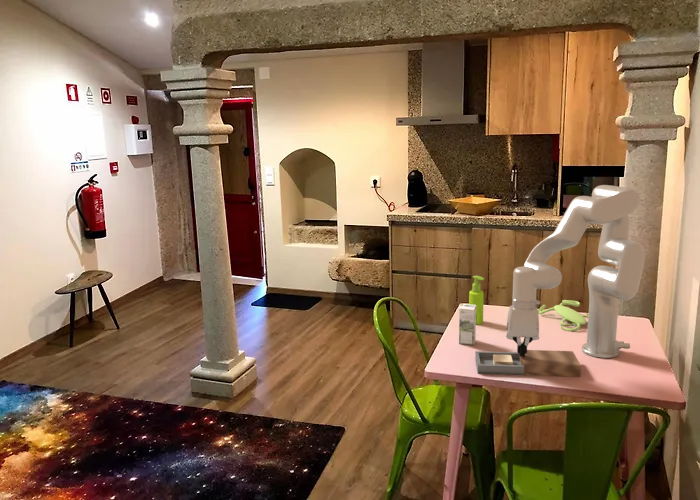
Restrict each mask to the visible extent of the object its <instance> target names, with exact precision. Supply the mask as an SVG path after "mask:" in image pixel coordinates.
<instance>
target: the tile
mask: <svg viewBox="0 0 700 500" xmlns="http://www.w3.org/2000/svg"><path fill="white" fill-rule="evenodd" d="M493 363H494V365H513V360H512V357H511V355H494V354H493Z"/></svg>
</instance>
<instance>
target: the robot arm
mask: <svg viewBox="0 0 700 500" xmlns="http://www.w3.org/2000/svg"><path fill="white" fill-rule="evenodd" d="M640 205H641V196H640V193H638V191H636V189H633V188H630V187H624V186H616V185H610V184H609V185H608V184H601V185H597V186H596V187H595V188H593V190H592V193H591V196H588V195H581V196H580V195H579V196H575V198H573V199H572V200H571V202H570V203H569V205H568V206H567V208H566V210H565V212H564V214H563V215H562V218H561V219H560V220H559V223H558V224H557V226H556V228H555V230H554V231H553V233H551V234H550V235H549V236H547V237H545V238H544V239H543V240H541V241H540V242H539V243H538V244H537V245H535V246H534V247H533V249H531V251H530V252H529V254H528V257H527V258H526V259H525V262H524V265H522V266H518V267H515V268H514V269H513V273H512V275H513V277H512V278H513V279H512V300H511V301H512V302H511V304H512V305H509V308H508V312H507V322H506V336H505V337H506V339H507V340H511V341H514V342H515V343H516V345H517V348H516V351H517V353H519V355H520V357H522V356H523V357H525V353H526V354H527V350H528V346H529V344H530V343H532V341H536V340H537V341H538V340H540V336H539V334H540V319H539V318H540V317H539V314H538V310H539V308H538V305H541V300H537V290H538V289H539V290H551V289H554V288H557V287H558V286H560V284H561V283H562V281H563V275H562V273H561V271H560V270H559V269H557V268H556V267H554V266H552V265H549V264H547V263H546V262H547V261H548V259H550V258H551V257H552V256H553V255H555V254H556V253H558V252H560V251H563V250H568V249H571V248H575V246H577V245H578V244H579V242H580V240H581V239H582V237H583V234H584V233H585V232H586V230H587V229H588V226H589V225H590V224H593V225H599V226H600V225H602V227H601V234H600V237H599V243H598V247H597V249H598V250H597V255H598V258H599V259H600V260H601V261H603V262H605V263H608V264H610V265H615V266H618V268H614V267H612V266H608V265H597V266H595V267H593V268H592V269H591V270H590V271H589V273H588V276H587V286H588V292H589V293H588V294H589V301H588V302H589V303H588V304H589V306H588V316H589V317H588V318H587V334H586V335H587V336H586V342H585V343H583V344H582V345H581V350H582V352H583V353H585V354H586V355H588V356H591V357H595V358H600V359H601V358H603V359H611V358H616V357H618V356H620V353H621V349H624V350H625V349H627V350H629V349H630V348H631V344H630V343H627V342H626V343H625V341H623V340H622V341H621V340H620V341H618V340H617V331H618V330H617V329H618V318H619V301H618V300H620V301H630V300H631V299H633V298H634V297H635V296H636V294H637V293H638V291H639V288H640V284H641V281H642V280H641V279H642V275H643V271H644V266H645V261H646V260H645V259H646V252H645V248H644V246H643V245H642V244H641V243H639V242H638V241H636V240H632V239H629V233H630V232H629V231H630V224H631V223H630V222H631V221H630V215H631V214H632V213H634V212H636V211H637V209H638V207H639V206H640ZM521 338H523V341H521Z"/></svg>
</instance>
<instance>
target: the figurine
mask: <svg viewBox="0 0 700 500" xmlns="http://www.w3.org/2000/svg"><path fill="white" fill-rule="evenodd" d="M565 305H566V306H565ZM567 305H569V306H573V307H577V308H578V307H580V302H579V301H577V300H571V299H570V300H569V299H568V300H567V299H563V300H561V303H560V304H555V305H554V306H553V307H550V308H547V309H545V308H546V307H547V305H546V304H543V305H542V306H540V307H539V308H538V315H543V314H545V313H549V312H551V311H555V313H557V314H558V315H559V316H560V317H561V318H562V319H561V321H560V329H561V330H563V331H565V332H570V331H573V332H575V331H577V330H579V329H581V325H586V324H588V320H587V319H588V317H589V314H585V315H584V314H581V313H579V311H576V310H575V309H572V308H570V307H569V306H567ZM586 318H587V319H586ZM566 321H569V322H571V323H565V322H566ZM572 325H573V326H574V327H573V328H565V327H564V326H572Z"/></svg>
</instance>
